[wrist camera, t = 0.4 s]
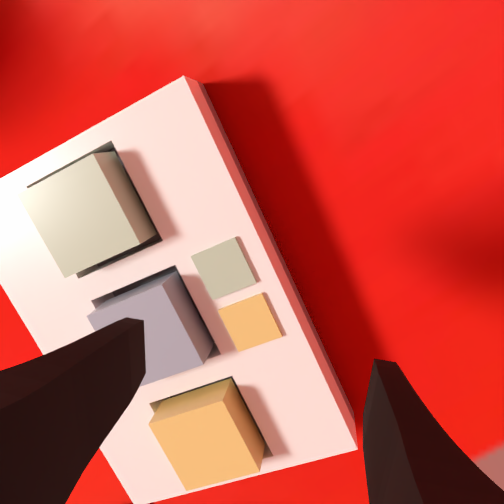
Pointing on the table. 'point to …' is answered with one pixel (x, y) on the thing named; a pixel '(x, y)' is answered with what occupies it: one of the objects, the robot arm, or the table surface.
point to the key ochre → (208, 435)
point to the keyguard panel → (195, 282)
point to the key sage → (87, 213)
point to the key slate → (161, 326)
